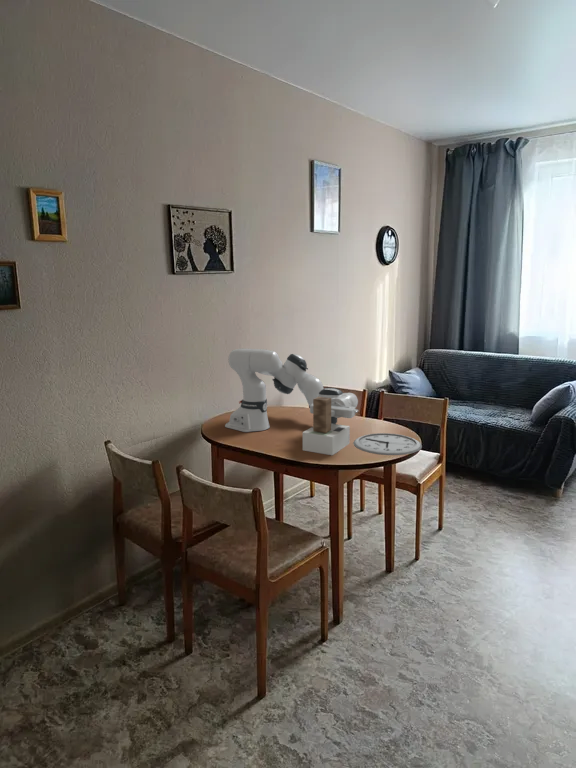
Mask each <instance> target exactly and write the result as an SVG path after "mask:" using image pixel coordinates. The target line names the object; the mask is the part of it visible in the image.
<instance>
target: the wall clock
mask: <svg viewBox="0 0 576 768" xmlns="http://www.w3.org/2000/svg"><path fill="white" fill-rule="evenodd" d="M352 444H353V446H354V447H355V448H356V449H358V450H360V451H362V452H364V453H365V452H366V453H370V454H372V455H373V454H374V455H382V456H405V455H409V454H410V455H411V454H414V453H416V452H419V451H420V450H421V449H422V448H423V445H422V443H421V442H420V441H419V440H417V439H415V438H414V437H411V436H407V435H404V434H398V433H386V432H383V433H381V432H380V433H369V434H365V435H362V436H359V437H357V438H356V439H355V440H353V443H352Z"/></svg>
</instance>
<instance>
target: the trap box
mask: <svg viewBox="0 0 576 768" xmlns="http://www.w3.org/2000/svg"><path fill="white" fill-rule="evenodd" d="M350 429H351V427H350V425H343V424H337V423H336V424H331V430H330V431H329V432H327V433H322V432H315V431H313V426H311V427H310V428H308V429H306V430H304V431H302V451H306V452H311V453H316V454H322V455H329V456H334V455H336V454H337V453H338V452H340V451H341V450H343V449H344V448H345V447H347V446H348V445H350V441H351V439H350V435H351V434H350V433H351V430H350Z"/></svg>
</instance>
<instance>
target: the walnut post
mask: <svg viewBox="0 0 576 768" xmlns="http://www.w3.org/2000/svg"><path fill="white" fill-rule="evenodd" d="M312 415H313V416H312V420H313V421H312V423H313V424H312V425H313V426H312V427H313V431H315V432H322V433H327V432H329V431H330V430H331V398H326V397H317V398H315V399H313V414H312Z"/></svg>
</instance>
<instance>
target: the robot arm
mask: <svg viewBox="0 0 576 768" xmlns="http://www.w3.org/2000/svg"><path fill="white" fill-rule="evenodd" d="M227 361H228V364H229V367H230V368H231V370H234V372H235V373H236V374H237V375H238V378H239V379H240V381H241V386H242V394H243V399H241V400H239V401H238V404H240V406H239V407H238V408H237V409H236V410H234V411H233V412H231V414H230V415H229V416H230V417H229V421H228V422H227V423H225V425H224V427H225V428H227V429H231V430H234V431H235V430H236V431H239V432H243V433H251V432H260V431H265V430H268V429H270V427H271V426H270V425H271V424H270V423H269V418H268V412H267V410H268V400H267V385H266V383H265V382H264V381H263V380H262V379H261V378H260V377H258V375H257V374H256V373H258V374H260V375H266V376H272V377H274V378H272V381H273V385H274V388H275V389H276V391H278V392H279V393H280V394H284V395H290V394H291V393H292V392H293V391H294V389H295V387H296V385H297V387H298V390H299V391H300V393H302V394H303V396H304V398H305V400H306V401H307V404H308V407H309V413H310V414H312V415H313V399H315V398H317V397H326V398H331V424H337V423H338V419H339V418H345V419H352V418H354V417H355V416H356V414H357V413H358V412H359V409H357V407H358V404H359V399H358V397H357V395H356V394H355V393H352V392H343V391H342V390H341V389H339V388H336V387H325V388H324V385H323V382H322V380H321V379H320V378H318V377H317V376H315V375H313V374H311V373H308V372H307V370H309V367H308V366H307V365H308V364H307V361H306V359H304V357H303V356H301V355H300V354H297V353H290V354H288V356H287V358H286V360H285V362H284V363H283V361H282V360H281V359H280V356H279V354H278V353H277V352H276V351H275V350H270V349H267V348H266V349H264V348H263V349H262V348H236V349H233V350H231V352H229V354H228V360H227Z"/></svg>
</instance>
